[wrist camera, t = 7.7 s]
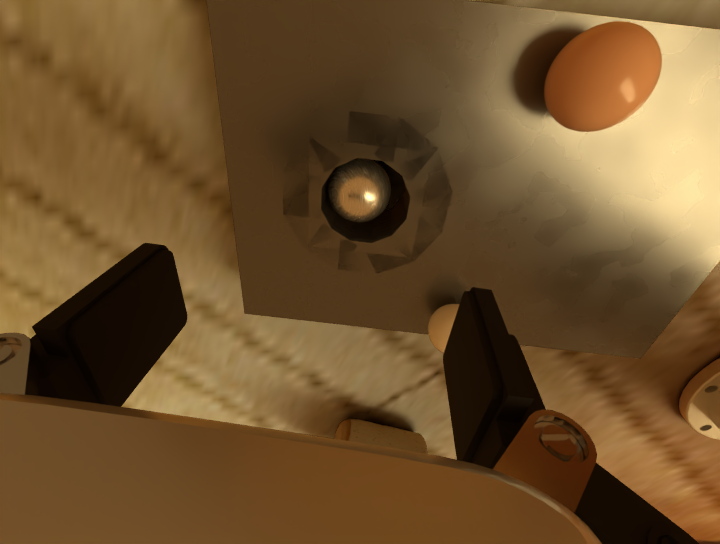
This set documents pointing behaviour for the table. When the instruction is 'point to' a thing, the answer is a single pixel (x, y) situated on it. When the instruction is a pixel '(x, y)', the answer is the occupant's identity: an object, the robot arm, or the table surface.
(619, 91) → the terracotta ball
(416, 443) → the ceramic mug
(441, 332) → the cream ball
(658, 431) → the table surface
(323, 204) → the grey metal slab
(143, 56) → the table surface
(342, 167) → the steel ball
